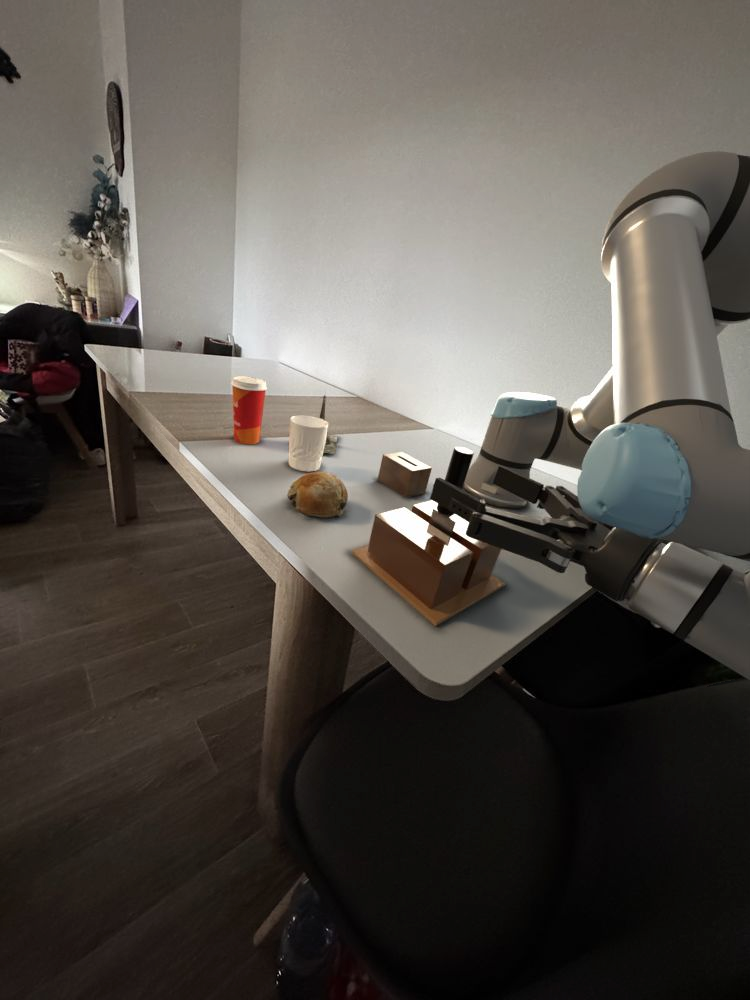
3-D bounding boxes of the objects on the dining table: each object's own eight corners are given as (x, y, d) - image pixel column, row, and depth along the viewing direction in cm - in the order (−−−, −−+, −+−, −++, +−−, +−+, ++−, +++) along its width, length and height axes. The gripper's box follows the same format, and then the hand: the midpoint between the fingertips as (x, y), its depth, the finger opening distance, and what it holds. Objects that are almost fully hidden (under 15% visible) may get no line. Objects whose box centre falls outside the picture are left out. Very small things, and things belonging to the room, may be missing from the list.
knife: (444, 571, 58) (482, 455, 50) (432, 577, 56) (470, 457, 48) (424, 557, 60) (458, 444, 52) (413, 561, 59) (446, 445, 51)
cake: (503, 586, 59) (521, 544, 55) (435, 626, 48) (452, 577, 45) (422, 530, 69) (432, 492, 66) (351, 553, 59) (360, 509, 55)
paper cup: (236, 432, 95) (238, 373, 89) (267, 438, 96) (271, 380, 90) (224, 442, 88) (225, 379, 82) (257, 448, 89) (261, 386, 83)
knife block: (425, 493, 84) (432, 467, 82) (405, 497, 80) (412, 471, 78) (396, 476, 90) (402, 451, 87) (377, 479, 86) (382, 454, 83)
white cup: (319, 475, 82) (326, 429, 78) (282, 468, 81) (286, 422, 77) (324, 462, 89) (330, 419, 85) (290, 456, 88) (294, 412, 84)
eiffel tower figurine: (300, 431, 105) (305, 381, 100) (337, 437, 107) (345, 388, 101) (292, 450, 92) (298, 393, 86) (335, 456, 93) (344, 401, 88)
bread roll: (322, 540, 67) (348, 508, 63) (273, 504, 66) (297, 470, 62) (338, 515, 76) (362, 486, 72) (295, 482, 75) (317, 451, 71)
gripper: (574, 655, 31) (394, 525, 44) (660, 568, 47) (509, 492, 60) (618, 579, 28) (409, 463, 41) (693, 514, 44) (526, 446, 57)
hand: (468, 480), depth 51 cm, fingers open, 13 cm apart
